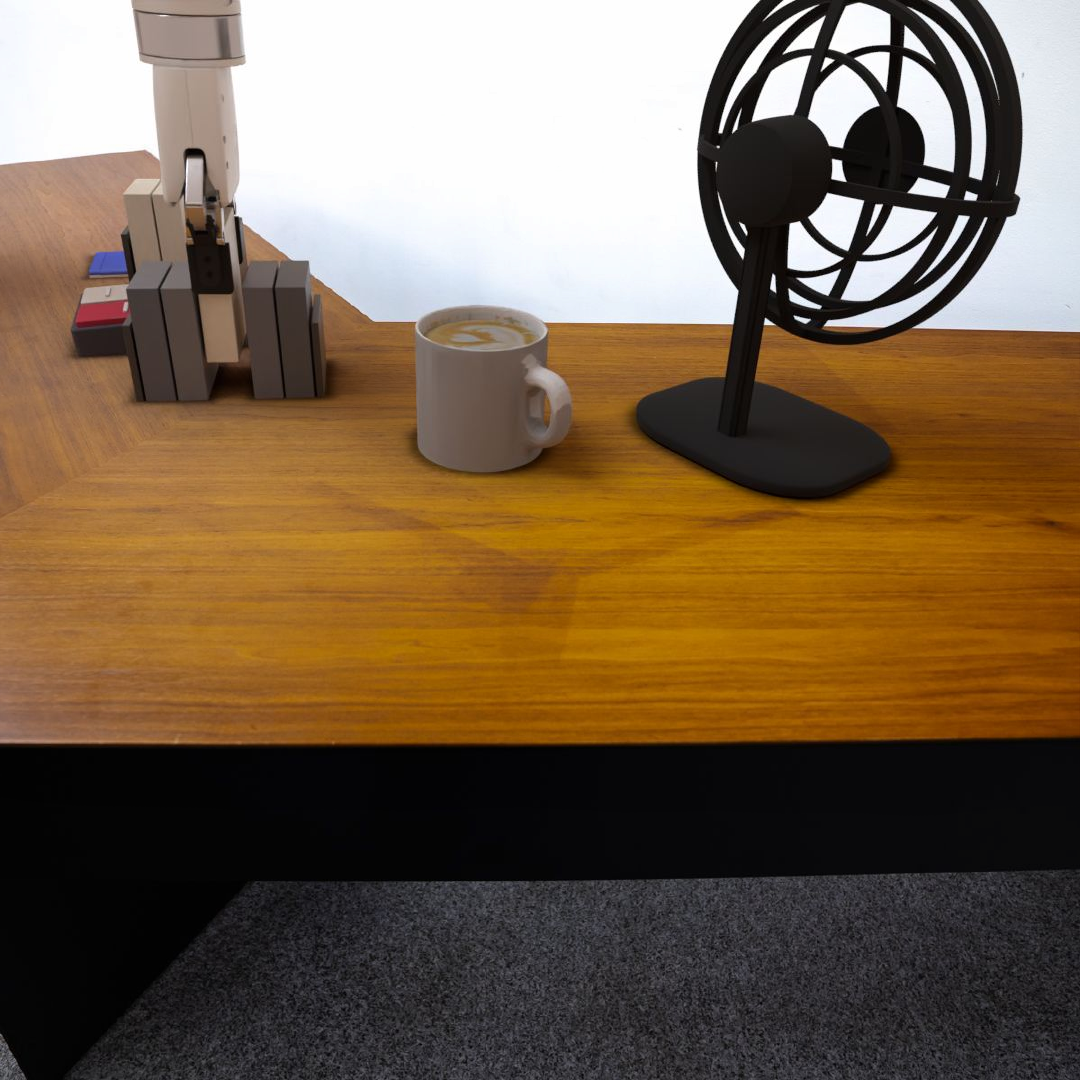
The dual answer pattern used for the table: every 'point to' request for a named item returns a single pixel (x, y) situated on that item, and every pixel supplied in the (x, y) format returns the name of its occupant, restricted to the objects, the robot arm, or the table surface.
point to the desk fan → (795, 194)
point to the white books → (157, 228)
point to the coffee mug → (486, 388)
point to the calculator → (102, 321)
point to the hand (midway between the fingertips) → (219, 276)
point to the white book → (224, 308)
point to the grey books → (178, 343)
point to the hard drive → (108, 265)
